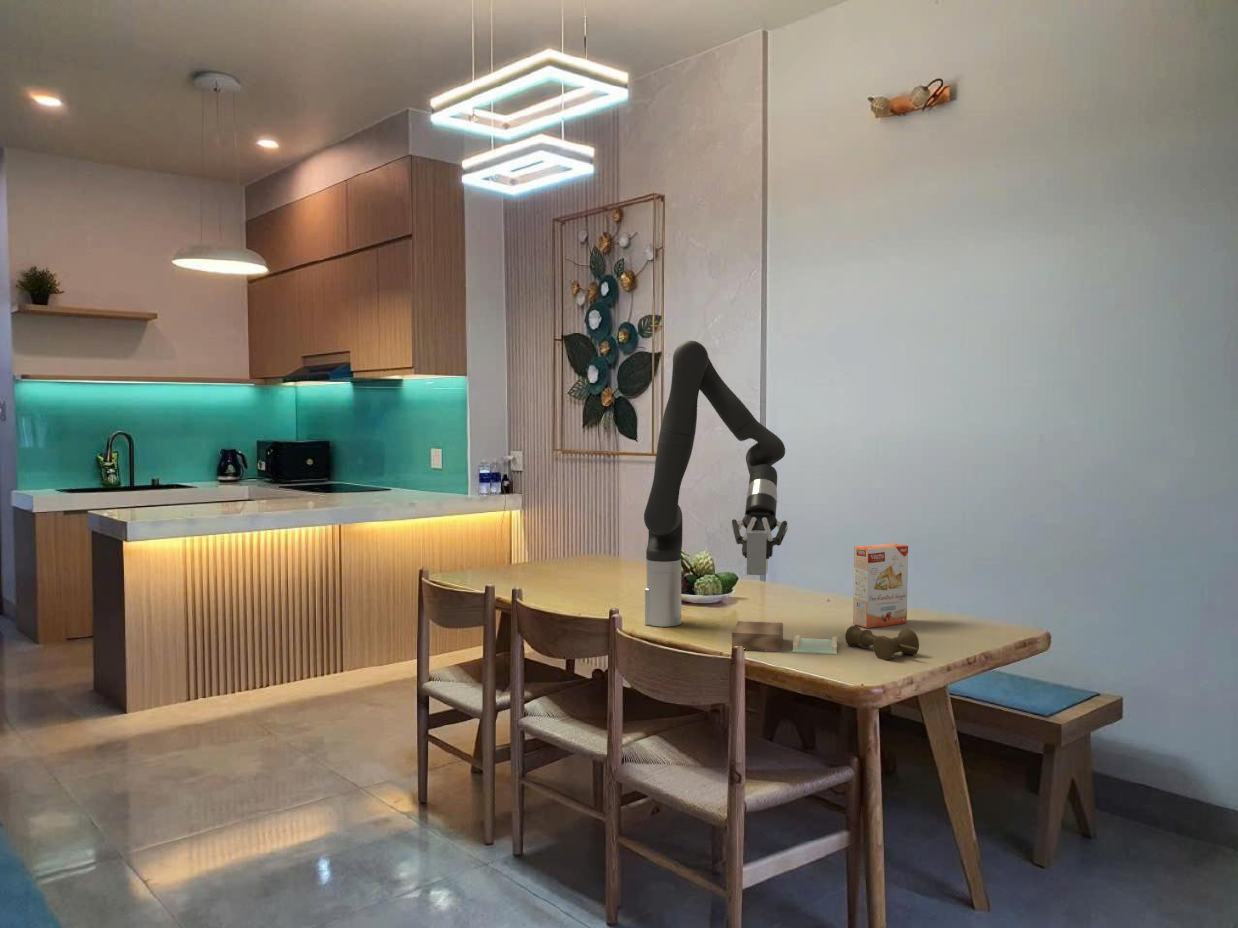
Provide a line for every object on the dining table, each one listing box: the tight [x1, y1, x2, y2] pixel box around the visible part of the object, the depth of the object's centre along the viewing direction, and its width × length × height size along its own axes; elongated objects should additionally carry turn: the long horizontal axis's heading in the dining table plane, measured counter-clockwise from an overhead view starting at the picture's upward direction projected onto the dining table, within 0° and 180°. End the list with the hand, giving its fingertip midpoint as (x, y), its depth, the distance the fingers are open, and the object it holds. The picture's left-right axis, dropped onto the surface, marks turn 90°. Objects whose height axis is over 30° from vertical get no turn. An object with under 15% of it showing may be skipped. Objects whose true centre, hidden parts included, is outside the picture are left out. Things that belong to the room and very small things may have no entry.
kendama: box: [845, 625, 920, 661], centre depth 214 cm, size 6×10×20 cm
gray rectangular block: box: [746, 530, 769, 576], centre depth 224 cm, size 4×6×10 cm
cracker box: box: [852, 542, 909, 629], centre depth 245 cm, size 14×6×21 cm, turn 117°
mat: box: [792, 634, 838, 655], centre depth 221 cm, size 10×13×1 cm
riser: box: [731, 620, 784, 652], centre depth 224 cm, size 11×13×4 cm
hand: (756, 556), depth 222 cm, fingers closed on gray rectangular block, 4 cm apart
